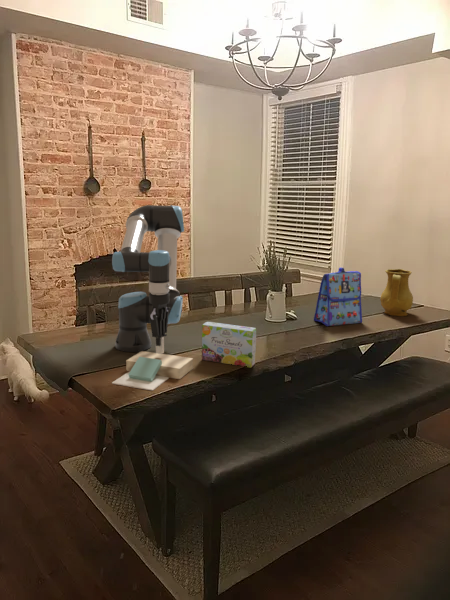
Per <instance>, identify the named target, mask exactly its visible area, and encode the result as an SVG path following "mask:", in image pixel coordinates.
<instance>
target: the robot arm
mask: <svg viewBox="0 0 450 600" xmlns="http://www.w3.org/2000/svg"><path fill="white" fill-rule="evenodd" d="M184 225H185V224H184V215H183V210H182V207H181V206H179V205H171V204H170V205H154V204H153V205H150V204H146V205H142V206H140V207H138V208H136V209H134V210H133V211H132V212H131V213H130V214H129V215H128V216H127V219H126V221H125V228H126V231H125V234H124V238H123V242H122V245H121V248H120V251H115V252H113V253H112V258H111V265H112V270H114V272H122V273H135V272H137V273H148V292H149V294H147V293H146V291H134V292H128V293H125V294H122V295H121V296H120V297H119V298H118V306H117V308H118V331H117V336H116V339H115V349H116V350H118V351H120V352H124V353H125V352H127V353H128V352H129V353H130V352H131V353H134V352H135V353H139V352H141V351H146V350H149V349H150V348H151V347H152V338H151V336H150V334H149V331H148V325H147V324H150V329H151V330H150V331H151V335H152V337H153V338H155V353H158V354H165V337H167V335H168V334H167V332H168V325H170V324H177V323H179V322H180V320H181V315H182V310H183V303H184V302H183V301H184V297H183V296H181V294H180V291H179V290H178V289H177V269H178V266H177V265H178V264H177V263H178V239H179V238H180V237H181V235H182V233H184V232H185V226H184ZM147 232H152V233H153V232H154V235H155V237H156V238H157V249H155V250H150V251H148V252H144V251H143V252H141V250H142V246H143V241H144V237H145V234H146V233H147Z"/></svg>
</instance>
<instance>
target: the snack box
mask: <svg viewBox="0 0 450 600" xmlns="http://www.w3.org/2000/svg"><path fill="white" fill-rule="evenodd" d="M256 347H257V328H256V327H251V326H246V325H245V326H244V325H237V324H236V325H234V324H231V323H230V324H229V323H222V322H214V321H206V322H204V323H203V324H201V360H202V361H208V362H215V363H221V364H227V365H231V364H232V365H233V366H237V365H241V366H240V367H244V366H247V367H246V368H252V367H254V365H255V364H256V351H257V349H256Z"/></svg>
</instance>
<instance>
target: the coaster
mask: <svg viewBox="0 0 450 600" xmlns="http://www.w3.org/2000/svg"><path fill="white" fill-rule="evenodd" d="M161 365H162V361H161V360H158V359H152V358H145V357H139V358H138V359H137V361H136V363H135V364H134V366H133V368H132V369H131V371H130V373H129V374H128V375H129V378H133V379H139V380H145V381H151V382H152V381H153V379H154V377H155V375H156V374H157V372H158V370H159V368H160V366H161ZM156 376H157V375H156Z"/></svg>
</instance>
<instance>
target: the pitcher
mask: <svg viewBox="0 0 450 600" xmlns="http://www.w3.org/2000/svg"><path fill="white" fill-rule="evenodd" d="M385 273H386V274H387V282H386V286H385V288H384V289H383V291H382V293H381V294H380V300H379V301H380V305H381V307H382V308H383V309H384V312H383V313H384V314H386V315H388V316H389V315H390V316H393V317H394V316H395V317H407V316H408V315H409V314H408V313H407V311H409V310H411V309H412V306H413V304H414V303H413V302H414V295H413V293H412V292H411V290H410V288H409V287H410V286H409V278H410V276H411V274H412V271H411V270H405V269H403V268H393V269H392V268H391V269H390V268H388V269H386V270H385Z"/></svg>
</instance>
